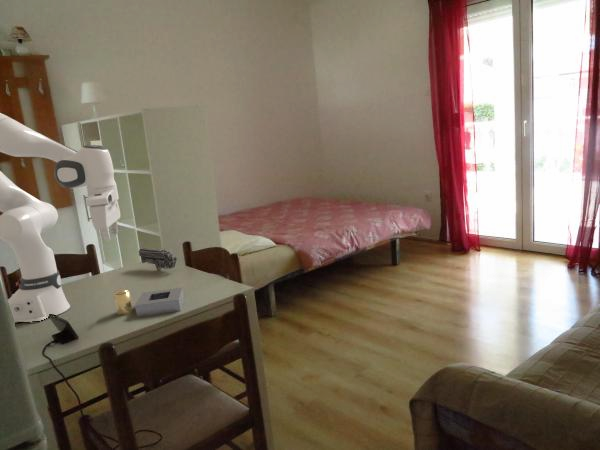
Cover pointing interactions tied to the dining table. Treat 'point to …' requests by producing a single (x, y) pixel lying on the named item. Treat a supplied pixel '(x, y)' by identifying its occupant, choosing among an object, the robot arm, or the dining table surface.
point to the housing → (159, 302)
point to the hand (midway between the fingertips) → (111, 237)
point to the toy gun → (158, 258)
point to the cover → (123, 302)
